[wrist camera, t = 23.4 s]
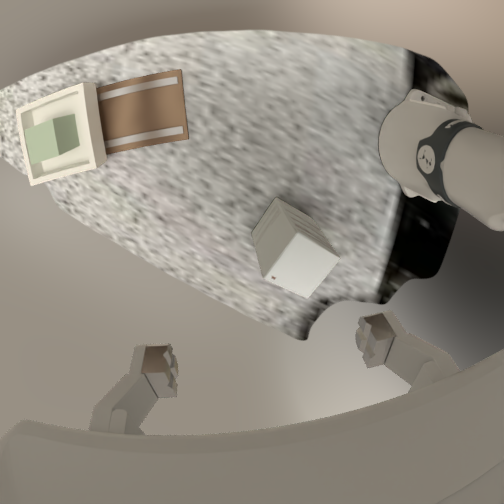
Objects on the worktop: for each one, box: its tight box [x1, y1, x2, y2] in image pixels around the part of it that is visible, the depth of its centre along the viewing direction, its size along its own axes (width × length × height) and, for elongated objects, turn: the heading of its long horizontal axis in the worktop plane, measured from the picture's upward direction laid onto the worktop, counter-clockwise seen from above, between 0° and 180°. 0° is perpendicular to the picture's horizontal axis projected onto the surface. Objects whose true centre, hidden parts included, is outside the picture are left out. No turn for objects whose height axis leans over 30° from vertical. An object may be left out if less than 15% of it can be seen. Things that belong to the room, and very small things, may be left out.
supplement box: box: [251, 197, 341, 298], centre depth 41 cm, size 7×7×13 cm
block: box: [24, 114, 80, 165], centre depth 28 cm, size 4×4×6 cm
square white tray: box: [16, 83, 107, 186], centre depth 31 cm, size 11×11×6 cm
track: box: [96, 69, 189, 155], centre depth 34 cm, size 22×10×1 cm, turn 94°
